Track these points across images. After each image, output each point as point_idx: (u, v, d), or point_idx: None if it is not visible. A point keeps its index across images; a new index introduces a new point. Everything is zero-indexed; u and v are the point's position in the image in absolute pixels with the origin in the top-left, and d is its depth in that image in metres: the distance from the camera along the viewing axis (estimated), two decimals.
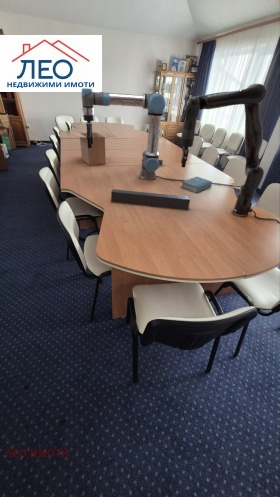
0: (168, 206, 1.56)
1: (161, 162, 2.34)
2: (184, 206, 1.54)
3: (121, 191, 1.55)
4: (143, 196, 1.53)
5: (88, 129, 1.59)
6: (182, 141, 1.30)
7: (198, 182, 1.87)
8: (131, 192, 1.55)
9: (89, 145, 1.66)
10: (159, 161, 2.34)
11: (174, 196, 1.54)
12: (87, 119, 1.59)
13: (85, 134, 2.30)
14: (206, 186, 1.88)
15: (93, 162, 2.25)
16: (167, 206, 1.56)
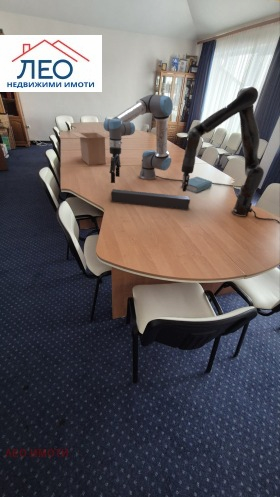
0: (168, 206, 1.56)
1: None
2: (184, 206, 1.54)
3: (121, 191, 1.55)
4: (143, 196, 1.53)
5: None
6: (183, 168, 1.40)
7: (198, 182, 1.87)
8: (131, 192, 1.55)
9: None
10: None
11: (174, 196, 1.54)
12: None
13: (85, 134, 2.30)
14: (206, 186, 1.88)
15: (93, 162, 2.25)
16: (167, 206, 1.56)
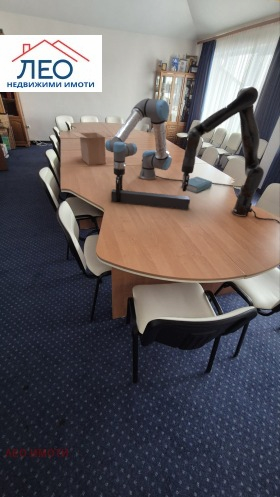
0: (168, 206, 1.56)
1: None
2: (184, 206, 1.54)
3: (121, 191, 1.55)
4: (143, 196, 1.53)
5: None
6: (183, 168, 1.40)
7: (198, 182, 1.87)
8: (131, 192, 1.55)
9: None
10: None
11: (174, 196, 1.54)
12: None
13: (85, 134, 2.30)
14: (206, 186, 1.88)
15: (93, 162, 2.25)
16: (167, 206, 1.56)
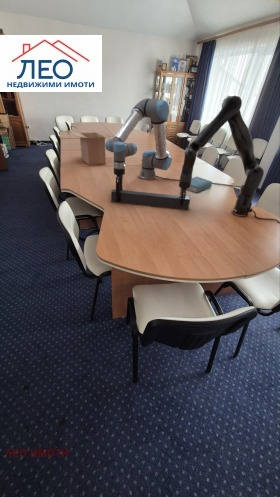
0: (168, 206, 1.56)
1: None
2: (184, 206, 1.54)
3: (121, 191, 1.55)
4: (143, 196, 1.53)
5: None
6: (180, 183, 1.46)
7: (198, 182, 1.87)
8: (131, 192, 1.55)
9: None
10: None
11: (174, 196, 1.54)
12: None
13: (85, 134, 2.30)
14: (206, 186, 1.88)
15: (93, 162, 2.25)
16: (167, 206, 1.56)
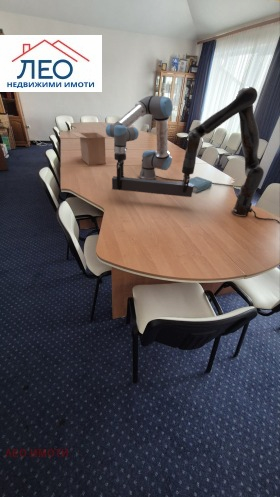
0: (170, 193, 1.51)
1: None
2: (187, 193, 1.49)
3: (122, 178, 1.50)
4: (145, 183, 1.49)
5: None
6: (184, 169, 1.41)
7: (198, 182, 1.87)
8: (132, 179, 1.51)
9: None
10: None
11: (177, 183, 1.49)
12: None
13: (85, 134, 2.30)
14: (206, 186, 1.88)
15: (93, 162, 2.25)
16: (170, 194, 1.51)
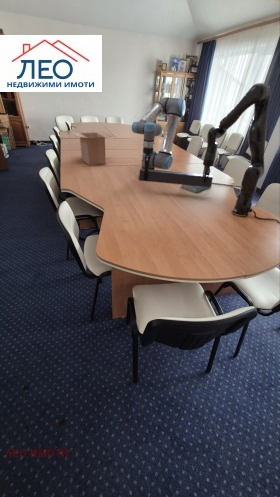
0: (192, 183, 1.68)
1: None
2: (206, 183, 1.67)
3: (148, 170, 1.68)
4: (169, 174, 1.66)
5: None
6: (205, 161, 1.58)
7: None
8: (157, 170, 1.68)
9: None
10: None
11: (198, 174, 1.66)
12: None
13: (85, 134, 2.30)
14: None
15: (93, 162, 2.25)
16: (191, 184, 1.68)
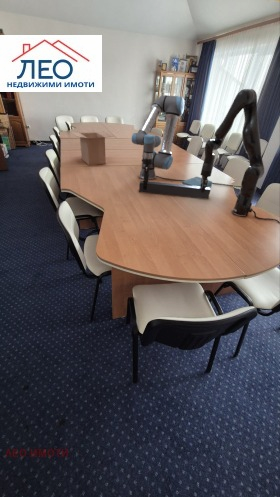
0: (190, 195, 1.73)
1: None
2: (204, 195, 1.72)
3: (148, 182, 1.73)
4: (168, 187, 1.71)
5: None
6: (202, 172, 1.62)
7: (198, 182, 1.87)
8: (157, 183, 1.73)
9: None
10: None
11: (196, 186, 1.72)
12: None
13: (85, 134, 2.30)
14: (206, 186, 1.88)
15: (93, 162, 2.25)
16: (189, 196, 1.74)
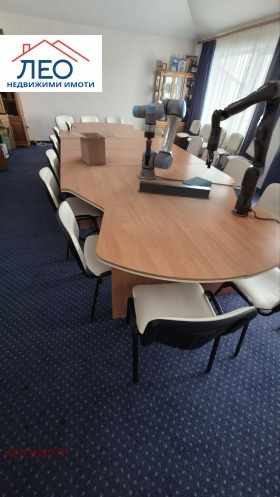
0: (190, 195, 1.73)
1: None
2: (204, 195, 1.72)
3: (148, 182, 1.73)
4: (168, 187, 1.71)
5: None
6: (208, 146, 1.52)
7: (198, 182, 1.87)
8: (157, 183, 1.73)
9: None
10: None
11: (196, 186, 1.72)
12: None
13: (85, 134, 2.30)
14: (206, 186, 1.88)
15: (93, 162, 2.25)
16: (189, 196, 1.74)
